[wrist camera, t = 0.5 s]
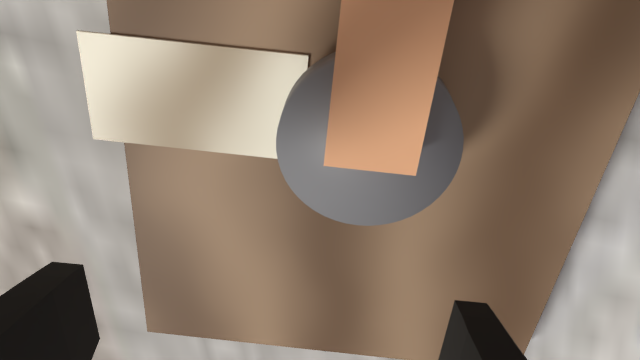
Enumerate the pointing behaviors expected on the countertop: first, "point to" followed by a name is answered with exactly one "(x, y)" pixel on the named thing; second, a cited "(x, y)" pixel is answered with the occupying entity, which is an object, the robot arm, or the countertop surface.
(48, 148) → the countertop surface
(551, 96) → the lock board
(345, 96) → the orange bar
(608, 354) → the countertop surface
